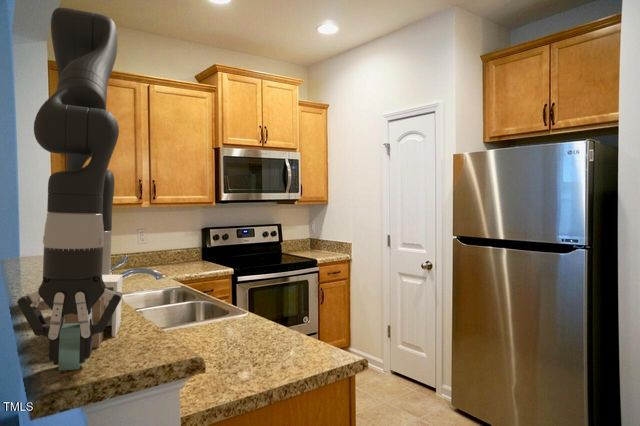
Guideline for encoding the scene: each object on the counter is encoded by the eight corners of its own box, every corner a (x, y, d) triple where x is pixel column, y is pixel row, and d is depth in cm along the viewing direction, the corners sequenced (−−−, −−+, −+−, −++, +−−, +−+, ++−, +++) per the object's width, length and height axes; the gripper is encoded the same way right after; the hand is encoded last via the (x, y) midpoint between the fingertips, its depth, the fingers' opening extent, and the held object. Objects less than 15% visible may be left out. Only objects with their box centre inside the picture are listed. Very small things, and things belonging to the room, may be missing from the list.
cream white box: (71, 326, 84) (73, 275, 84) (120, 324, 87) (122, 274, 87) (60, 339, 76) (62, 282, 76) (115, 336, 79) (117, 281, 79)
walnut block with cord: (71, 340, 75) (72, 294, 75) (103, 338, 77) (104, 293, 77) (48, 371, 61) (50, 315, 61) (88, 368, 63) (90, 313, 63)
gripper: (129, 242, 69) (125, 350, 69) (26, 241, 64) (22, 357, 64) (124, 247, 61) (120, 367, 62) (8, 246, 57) (4, 376, 57)
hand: (70, 361), depth 63 cm, fingers closed on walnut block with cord, 2 cm apart
